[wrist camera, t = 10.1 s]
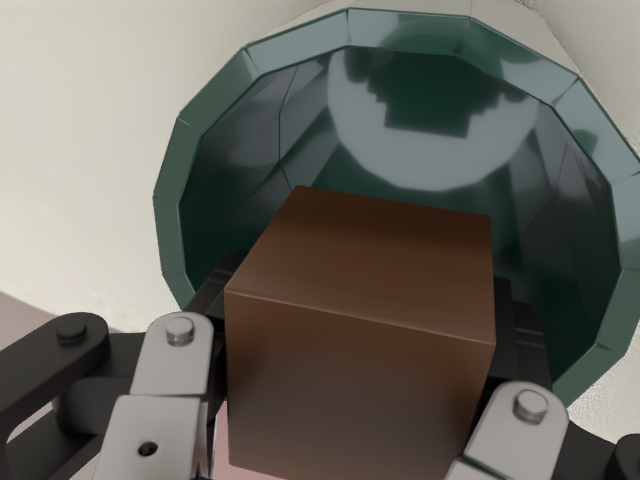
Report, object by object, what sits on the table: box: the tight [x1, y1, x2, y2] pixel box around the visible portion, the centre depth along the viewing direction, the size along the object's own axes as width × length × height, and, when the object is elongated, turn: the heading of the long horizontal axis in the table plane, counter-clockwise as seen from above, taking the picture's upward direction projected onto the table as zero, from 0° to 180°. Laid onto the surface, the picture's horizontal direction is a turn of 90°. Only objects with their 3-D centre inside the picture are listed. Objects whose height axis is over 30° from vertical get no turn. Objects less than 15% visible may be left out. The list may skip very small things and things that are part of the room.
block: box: [224, 185, 496, 480], centre depth 12 cm, size 5×5×5 cm
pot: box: [153, 0, 640, 409], centre depth 19 cm, size 13×13×10 cm
